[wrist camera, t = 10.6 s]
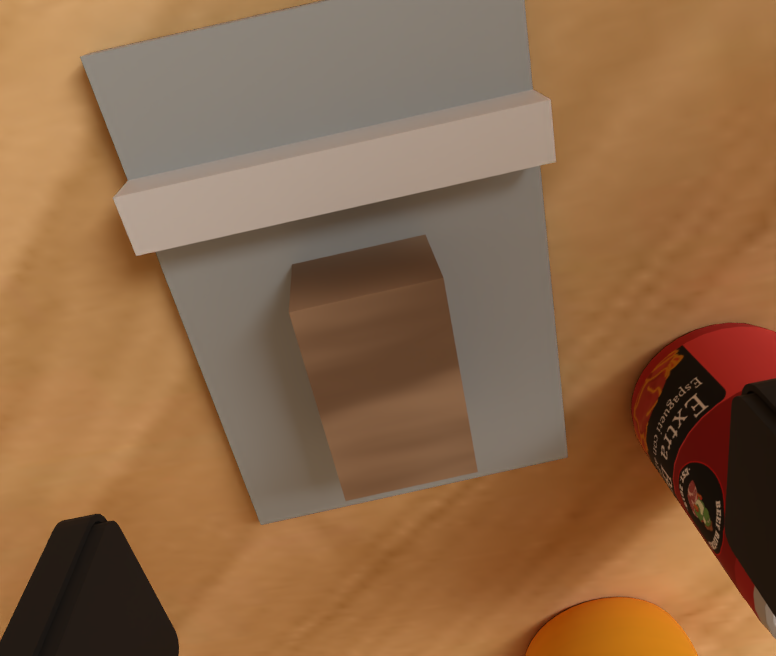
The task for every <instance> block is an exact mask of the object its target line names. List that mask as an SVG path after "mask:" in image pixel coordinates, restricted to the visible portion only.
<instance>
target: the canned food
mask: <svg viewBox="0 0 776 656" xmlns="http://www.w3.org/2000/svg"><path fill="white" fill-rule="evenodd" d="M774 378H776V332H774V331H772V330H768V329H765V328H762V327H758V326H754V325H750V324H746V323H723V324H715V325H710V326H707V327H703V328H700V329H697V330H694V331H692V332H690V333H688V334H686V335H684V336H681V337H679V338H678V339H676V340H675V341H673V342H672V343H670V344H669V345H667V346H666V347H665V348H664V349H663V350H661V351H660V352H659V353H658V354H657V355H656V356H655V357H654V358H653V359H652V360H651V361H650V363H649V364H648V365H647V366H646V368H645V369H644V370H643V372H642V374H641V376H640V378H639V379H638V381H637V383H636V386H635V389H634V393H633V396H632V406H631V412H632V418H633V423H634V428H635V433H636V436H637V438H638V441H639V443H640V445H641V447H642V448H643V450H644V451H645V452H646V454H647V455H648V457H649V458H650V460H651V461H652V463H653V464H654V466H655V467H656V469H657V470H658V472H659V473H660V475H661V476H662V478H663V479H664V481H665V482H666V484H667V485H668V487H669V488H670V490H671V491H672V493H673V494H674V496H675V497H676V498H677V500H678V501H679V503H680V504H681V506H682V507H683V509H684V510H685V512H686V513H687V515H688V516H689V518H690V519H691V521H692V522H693V524H694V525H695V527H696V528H697V530H698V531H699V533H700V534H701V536H702V537H703V539H704V540H705V541H706V543H707V544H708V546H709V547H710V549H711V550H712V552H713V553H714V555H715V556H716V558H717V559H718V561H719V562H720V564H721V565H722V567H723V568H724V570H725V571H726V573H727V574H728V576H729V577H730V579H731V580H732V582H733V583H734V584H735V586H736V587H737V589H738V590H739V592H740V593H741V595H742V596H743V598H744V599H745V600H746V601H747V603H748V604H749V605H750V607H751V608H752V610H753V611H754V613H755V614H756V616H757V617H758V619H759V620H760V622H761V623H762V624H763V625H764V626H765V627H766V628H767V629H768V630H769V631H770V633H771V634H772V636H773V637H774V638H775V639H776V617H775V616H774V614H773V613H772V611H771V610H770V608H769V607H768V605H767V604H766V602H765V601H764V599H763V598H762V596H761V594H760V593H759V591H758V590H757V588H756V587H755V585H754V584H753V582H752V581H751V579H750V578H749V576H748V575H747V573H746V572H745V570H744V569H743V567H742V565H741V564H740V562H739V561H738V559H737V558H736V556H735V555H734V553H733V552H732V550H731V548H730V546H729V544H728V541H727V538H726V534H725V527H724V523H725V506H726V489H727V472H728V454H729V437H730V420H731V404H732V400H733V398H734V397H736V396H740V395H741V394H742V389H743V387H744V386H745V385H746V384H749V383H754V382H759V381H764V380H769V379H774Z"/></svg>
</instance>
